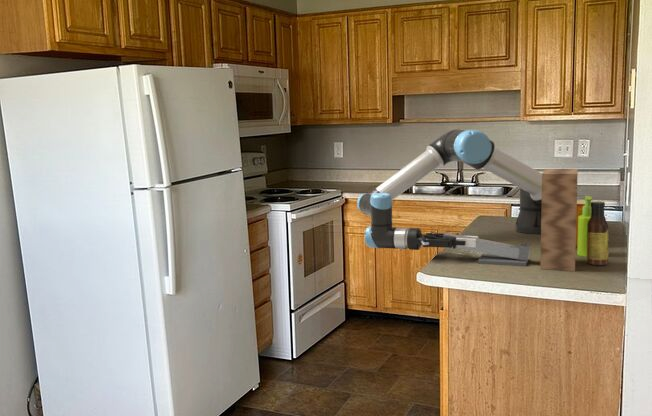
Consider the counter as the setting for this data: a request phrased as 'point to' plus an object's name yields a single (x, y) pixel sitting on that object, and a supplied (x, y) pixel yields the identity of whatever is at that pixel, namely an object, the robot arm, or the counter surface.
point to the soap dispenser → (583, 227)
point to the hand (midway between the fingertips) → (476, 241)
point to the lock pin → (496, 247)
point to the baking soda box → (579, 212)
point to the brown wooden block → (558, 219)
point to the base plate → (500, 260)
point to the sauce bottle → (597, 235)
